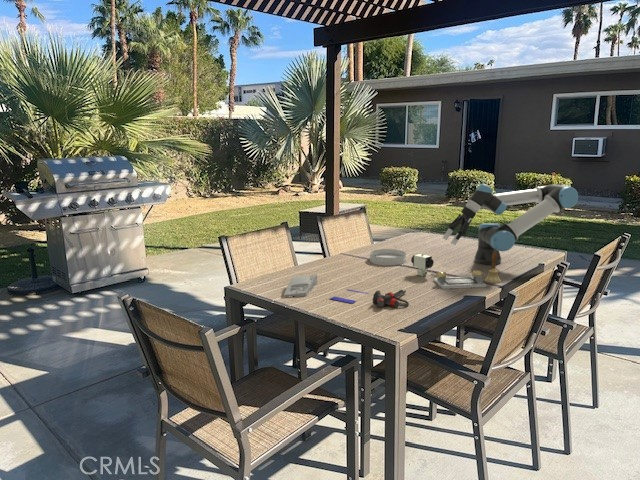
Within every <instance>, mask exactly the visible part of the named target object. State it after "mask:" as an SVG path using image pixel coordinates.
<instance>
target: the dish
mask: <svg viewBox="0 0 640 480" xmlns="http://www.w3.org/2000/svg"><path fill="white" fill-rule="evenodd" d="M369 262H370V263H371V264H375V265H377V266H378V265H379V266H399V265H404V264H405V263H406V262H407V253H406V251H404V250H400V249H391V248H381V249H374V250H372V251H370V252H369Z"/></svg>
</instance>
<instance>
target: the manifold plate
mask: <svg viewBox="0 0 640 480" xmlns="http://www.w3.org/2000/svg"><path fill="white" fill-rule="evenodd" d="M483 275H484V271H483V270H482V269H481V270H473V271H472V275H470V276H450V277H447V273H446V271H437V272H436V277H434V278H433V281H434V282H435V284H437V285H438V286H439V287H440V289H443V290H448V289H450V288H452V289H469V288H470V289H471V287H472V289H473V287H475V288H486V286H487V284H486V283H485V282H484V281H482V279H483Z"/></svg>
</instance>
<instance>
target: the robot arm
mask: <svg viewBox="0 0 640 480" xmlns="http://www.w3.org/2000/svg"><path fill="white" fill-rule="evenodd" d="M493 191H494V190H493V189H492V187H490V186H488V185H487V184H485V183H480V184H479V186H478V187H477V188H476V190H475V191H474V193H473V194H472V196H471V197H470V198H469V200H467V202H466V204H465V206H464V207H463V208H462V209H461V213H460V214H458V215H457V216H456V218H454V219H453V220H452V222H450V224H448V229H447V230H446V232H445V233H444V235H443V236H442V239H444V240H445V241H447V240H448V239H449V237H451V235H452V233H453V232H454V231H455V229H456V228H457V227H459V230H458V231H457V232H456V234H455V235H454V237H453V238H452V240H451V241H450V244H451V245H454V246H455V245H456V244H457V243H458V242H459V240H460V239H461V237H462V236H465V235H466V233H467V231H468V230H469V227H470V225H471V223H472V221H473V219H474V218H475V217H476V215H477V214H478V212H479V211H480V209H486V210H488V211H491V212H492V213H493V214H495V215H498V216H500V215H502V214H503V213H504V212H505V211H506V209H507V206H511V205H512V206H513V205H521V204H529V203H537V204H535V205H534V206H532V207H531V208H530V209H529V210H527V211H525V212H524V213H523V214H521V215H520V216H518V217H517V218H515V219H513V220H512V221H510V223H505V222H504V223H502V224H500V223H495V222H494V223H493V222H492V223H481V224H479V226H478V241H477V246H478V247H477V249H476V252H475V254H474V255H475V256H473V257H474V259H473V261H474V262H475V263H476V264H477V263H478V264H482V265H492V263H493V262H492V254H493V252H494V251H496V253H497V261H496V265H498V264H501V263H502V256H501V253H500V252H507V251H510V250H511V249H513V247H514V246H515V243H516V241H518V240H519V236H521V235H522V234H524V233H525V232H526V231H528V230H529V229H531V228H532V227H534V226H536V225H538V223H541V222H542V221H543V220H544V219H546V218H548V217H549V216H550V215H552V214H554V213H559V212H562V210H565V209H570V208H573V207H575V205H576V204H577V202H578V201H579V194H578V193H579V192H578V191H577V190H576V188H574V187H573V186H570V185H562V184H558V183H555V184H553V183H552V184H548V185H541V186H536V187H535V188H533V189H532V188H531V189H530V188H529V189H525V190H516V191H508V192H501V193H500V192H499V193H493Z"/></svg>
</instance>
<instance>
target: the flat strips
mask: <svg viewBox="0 0 640 480" xmlns="http://www.w3.org/2000/svg"><path fill="white" fill-rule="evenodd" d="M346 291H348V292H353V293H359V294H360V293H361V294H365V295H366V294H367V295H369V294H370V293H369V292H364V291H358V290H353V289H346ZM329 299H330V300H332V301H333V300H334V301H339V302H345V303H349V304H353V303H355V302H357V300H354V299H349V298H343V297H339V296H332V297H330V298H329Z"/></svg>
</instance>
